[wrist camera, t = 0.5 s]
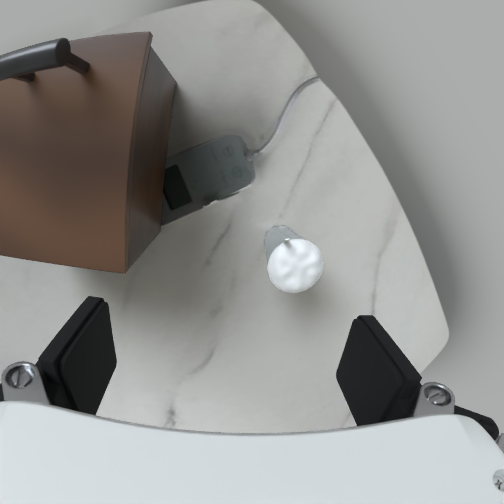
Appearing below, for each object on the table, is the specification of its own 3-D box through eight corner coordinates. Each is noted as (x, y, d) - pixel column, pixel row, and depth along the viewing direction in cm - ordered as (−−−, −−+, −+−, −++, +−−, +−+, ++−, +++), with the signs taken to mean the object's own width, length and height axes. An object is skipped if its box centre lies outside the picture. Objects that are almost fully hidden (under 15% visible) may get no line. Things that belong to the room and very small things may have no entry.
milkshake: (289, 204, 30) (316, 226, 21) (306, 250, 32) (337, 289, 22) (247, 221, 30) (257, 251, 21) (267, 266, 32) (283, 312, 23)
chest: (62, 87, 24) (5, 69, 14) (176, 82, 25) (151, 45, 15) (52, 222, 28) (-5, 250, 18) (160, 231, 30) (129, 269, 20)
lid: (7, 60, 13) (-35, 48, 8) (153, 35, 15) (129, -1, 10) (-5, 250, 18) (-45, 274, 13) (128, 269, 20) (99, 306, 14)
